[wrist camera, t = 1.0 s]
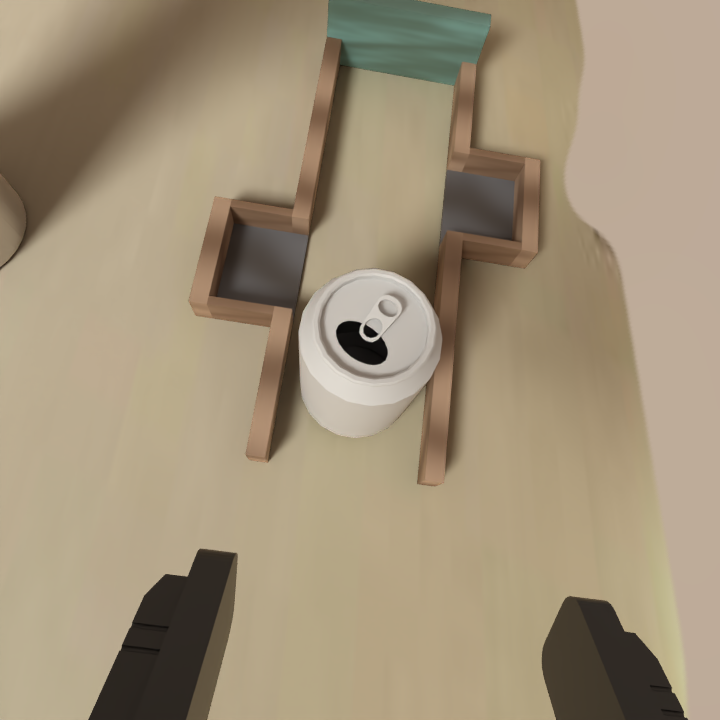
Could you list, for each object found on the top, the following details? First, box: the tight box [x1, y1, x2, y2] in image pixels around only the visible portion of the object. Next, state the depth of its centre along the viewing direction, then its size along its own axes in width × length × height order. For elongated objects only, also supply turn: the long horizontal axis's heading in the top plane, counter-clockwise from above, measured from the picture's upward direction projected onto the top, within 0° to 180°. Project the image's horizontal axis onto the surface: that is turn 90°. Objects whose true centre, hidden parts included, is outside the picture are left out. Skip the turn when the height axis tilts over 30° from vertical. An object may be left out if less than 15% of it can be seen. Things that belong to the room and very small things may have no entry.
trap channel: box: [189, 0, 540, 486], centre depth 39 cm, size 35×24×6 cm
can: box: [299, 268, 442, 438], centre depth 32 cm, size 8×8×12 cm
